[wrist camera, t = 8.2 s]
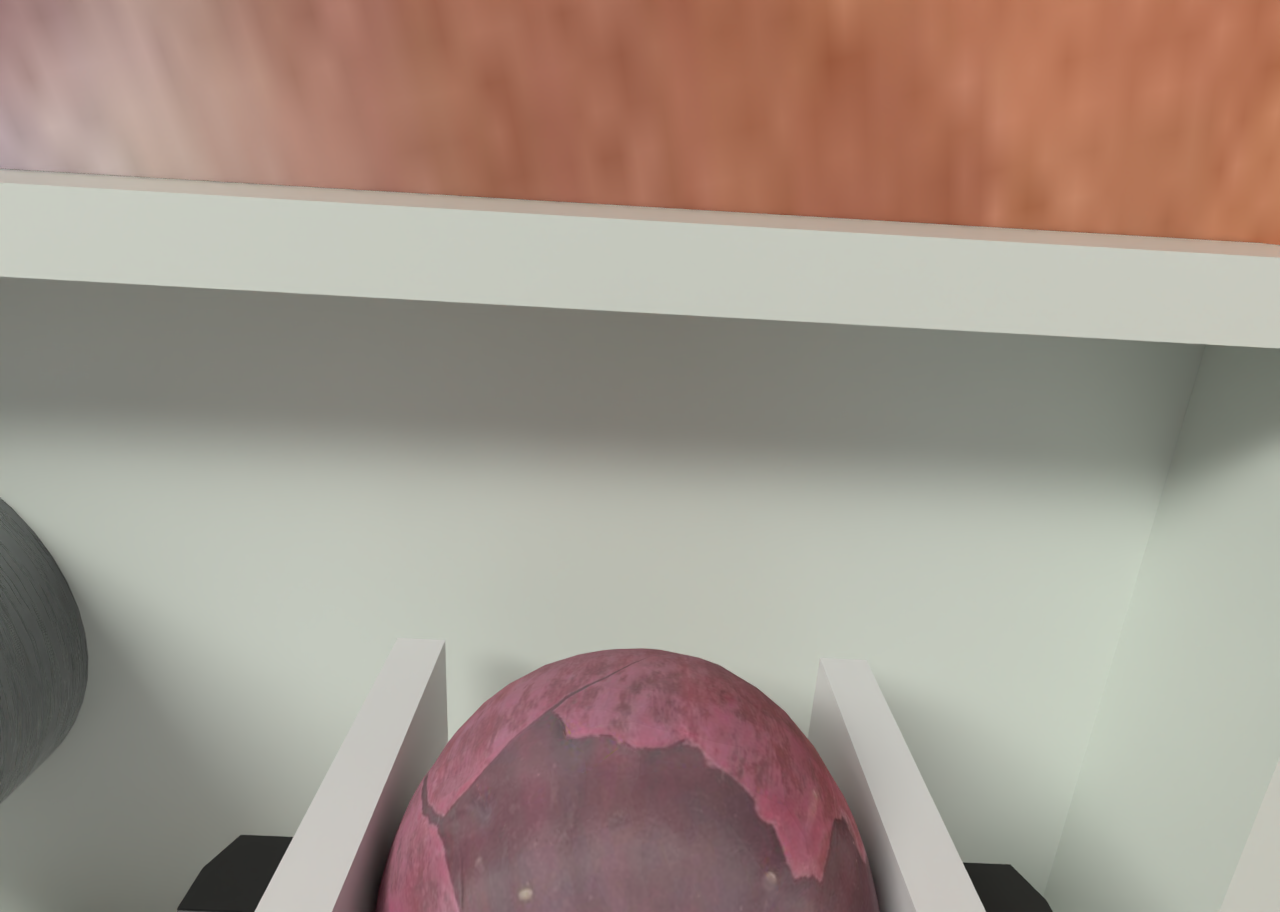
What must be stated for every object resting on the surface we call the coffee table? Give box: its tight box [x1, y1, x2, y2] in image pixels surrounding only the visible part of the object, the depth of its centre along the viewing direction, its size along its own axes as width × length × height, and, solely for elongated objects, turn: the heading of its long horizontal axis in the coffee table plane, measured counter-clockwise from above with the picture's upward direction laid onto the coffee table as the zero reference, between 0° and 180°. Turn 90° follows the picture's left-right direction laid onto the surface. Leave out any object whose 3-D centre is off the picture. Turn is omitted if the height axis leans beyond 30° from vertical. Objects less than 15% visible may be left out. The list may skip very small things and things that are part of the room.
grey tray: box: [0, 169, 1280, 912], centre depth 13 cm, size 16×30×4 cm, turn 87°
